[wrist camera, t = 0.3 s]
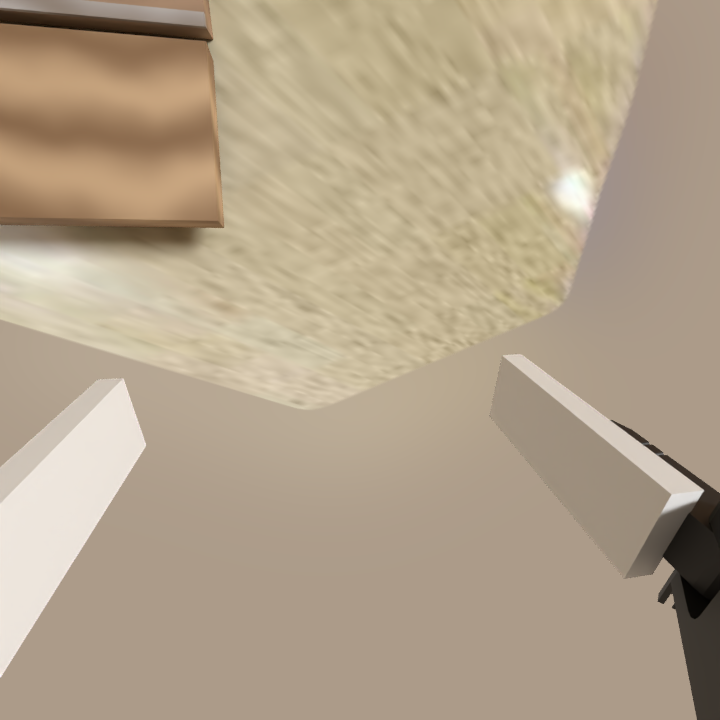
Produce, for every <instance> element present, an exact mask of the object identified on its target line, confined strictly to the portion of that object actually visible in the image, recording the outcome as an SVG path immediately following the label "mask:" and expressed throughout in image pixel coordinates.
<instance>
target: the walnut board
mask: <svg viewBox="0 0 720 720" xmlns="http://www.w3.org/2000/svg"><path fill="white" fill-rule="evenodd" d="M0 21H7V22H18V23H29V24H41V25H52V26H64V27H75V28H86V29H98V30H109V31H121V32H132V33H143V34H155V35H166V36H178V37H189V38H200V39H212V40H213V33H212V25H211V17H210V9H209V1H208V0H0Z"/></svg>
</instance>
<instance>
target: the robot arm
mask: <svg viewBox="0 0 720 720" xmlns="http://www.w3.org/2000/svg"><path fill="white" fill-rule="evenodd" d="M490 417H491V419H492V420H493V421H494V422H495V423H496V425H497V426H498V427H499V428H500V430H501V431H502V432H503V433H504V434H505V436H506V437H507V438H508V439H509V440H510V442H511V443H512V444H513V445H514V446H515V448H516V449H517V450H518V451H519V452H520V454H521V455H522V456H523V457H524V458H525V460H526V461H527V462H528V463H529V464H530V466H531V467H532V468H533V469H534V470H535V472H536V473H537V474H538V475H539V476H540V478H541V479H542V480H543V481H544V483H545V484H546V485H547V486H548V487H549V488H550V490H551V491H552V492H553V493H554V495H555V496H556V497H557V498H558V499H559V501H560V502H561V503H562V504H563V505H564V507H565V508H566V509H567V510H568V511H569V513H570V514H571V515H572V516H573V518H574V519H575V520H576V521H577V522H578V524H579V525H580V526H581V527H582V528H583V530H584V531H585V532H586V533H587V534H588V536H589V537H590V538H591V539H592V540H593V541H594V543H595V544H596V545H597V546H598V548H599V549H600V550H601V551H602V552H603V554H604V555H605V556H606V557H607V558H608V560H609V561H610V562H611V563H612V564H613V566H614V567H615V568H616V569H617V570H618V572H619V573H620V574H621V575H622V577H623V578H624V579H626V578H632V577H638V576H645V575H651V574H653V573H654V571H655V569H656V568H657V566H658V565H659V563H660V561H661V560H662V558H663V557H664V558H665V559H666V560H667V561H668V562H669V563H670V564H671V565H672V566H673V567H674V568H675V570H674V571H673V573H672V574H671V576H670V577H669V579H668V580H667V582H666V584H665V585H664V587H663V588H662V590H661V591H660V593H659V597H658V602H660V603H662V604H664V603H665V601H666V600H667V598H668V597H669V595H670V594H673V596H674V602H675V603H674V605H673V606H672V608H673V609H676V612H677V618H678V623H679V628H680V633H681V638H682V643H683V649H684V654H685V659H686V664H687V669H688V675H689V680H690V685H691V690H692V696H693V701H694V706H695V711H696V716H697V720H720V493H719V492H717V491H716V490H714V489H713V488H711V487H710V486H709V485H707V484H706V483H705V482H703V481H702V480H701V479H699V478H698V477H696V476H695V475H694V474H692V473H691V472H690V471H688V470H687V469H685V468H684V467H683V466H681V465H680V464H678V463H677V462H676V461H674V460H673V459H671V458H670V457H669V456H667V455H664V454H663V452H662V451H660V450H659V449H658V448H656V447H655V446H654V445H650V444H649V442H648V441H647V440H645V439H644V438H642V437H641V436H640V435H638V434H637V433H635V432H634V431H633V430H631V429H629V428H627V427H625V426H623V425H621V424H619V423H617V422H615V421H613V420H609V419H607V418H606V417H605V416H603V415H602V414H601V413H599V412H598V411H597V410H595V409H594V408H593V407H591V406H590V405H589V404H587V403H586V402H585V401H583V400H582V399H581V398H579V397H578V396H577V395H575V394H574V393H573V392H571V391H570V390H568V389H567V388H566V387H564V386H563V385H562V384H560V383H559V382H557V381H556V380H555V379H554V378H552V377H551V376H550V375H548V374H547V373H545V372H544V371H543V370H541V369H540V368H539V367H538V366H536V365H535V364H533V363H532V362H531V361H529V360H528V359H527V358H525V357H524V356H523V355H521V354H516V355H502V358H501V363H500V368H499V372H498V377H497V382H496V387H495V392H494V396H493V401H492V406H491V411H490ZM145 447H146V443H145V440H144V437H143V434H142V431H141V429H140V426H139V423H138V420H137V417H136V414H135V411H134V408H133V405H132V402H131V399H130V397H129V394H128V390H127V387H126V385H125V382H124V379H123V378H119V379H104V380H103V379H102V380H97V381H96V382H95V383H94V384H92V385H91V386H90V387H89V388H88V389H87V390H86V391H85V392H83V393H82V394H81V395H80V396H79V397H78V398H77V399H76V400H75V401H74V402H72V403H71V404H70V405H69V406H68V407H67V408H66V409H65V410H63V411H62V412H61V413H60V414H59V415H58V416H57V417H56V418H55V419H53V420H52V421H51V422H50V423H49V424H48V425H47V426H46V427H45V428H43V430H41V431H40V432H39V433H38V434H37V435H36V436H35V437H33V438H32V439H31V440H30V441H29V442H28V443H27V444H26V445H25V446H23V447H22V448H21V449H20V450H19V451H18V452H17V453H16V454H15V455H13V456H12V457H11V458H10V459H9V460H8V461H7V462H6V463H5V464H3V465H2V466H1V467H0V677H1V676H2V674H3V673H4V671H5V670H6V668H7V666H8V665H9V663H10V662H11V660H12V658H13V657H14V655H15V654H16V652H17V650H18V649H19V647H20V646H21V644H22V642H23V641H24V639H25V638H26V636H27V634H28V633H29V631H30V630H31V628H32V627H33V625H34V623H35V622H36V620H37V618H38V617H39V615H40V614H41V612H42V611H43V609H44V607H45V606H46V604H47V603H48V601H49V599H50V598H51V596H52V595H53V593H54V591H55V590H56V588H57V587H58V585H59V584H60V582H61V580H62V579H63V577H64V576H65V574H66V572H67V571H68V569H69V568H70V566H71V564H72V563H73V561H74V560H75V558H76V556H77V555H78V553H79V552H80V550H81V549H82V547H83V545H84V544H85V542H86V541H87V539H88V537H89V536H90V534H91V532H92V531H93V529H94V528H95V526H96V525H97V523H98V521H99V520H100V518H101V517H102V515H103V513H104V512H105V510H106V509H107V507H108V506H109V504H110V502H111V501H112V499H113V497H114V496H115V494H116V493H117V491H118V490H119V488H120V486H121V485H122V483H123V482H124V480H125V478H126V477H127V475H128V474H129V472H130V470H131V469H132V467H133V466H134V464H135V463H136V461H137V459H138V458H139V456H140V455H141V453H142V451H143V450H144V448H145Z"/></svg>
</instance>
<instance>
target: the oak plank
mask: <svg viewBox="0 0 720 720" xmlns="http://www.w3.org/2000/svg"><path fill="white" fill-rule="evenodd" d="M0 225H51V226H125V227H200V228H224V218H223V203H222V187H221V172H220V157H219V141H218V126H217V111H216V95H215V80H214V65H213V59H212V56H211V54H210V51H209V48H208V45H207V43H206V41H198V40H187V39H175V38H164V37H152V36H141V35H129V34H118V33H106V32H95V31H83V30H72V29H60V28H49V27H37V26H26V25H14V24H3V23H0Z"/></svg>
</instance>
